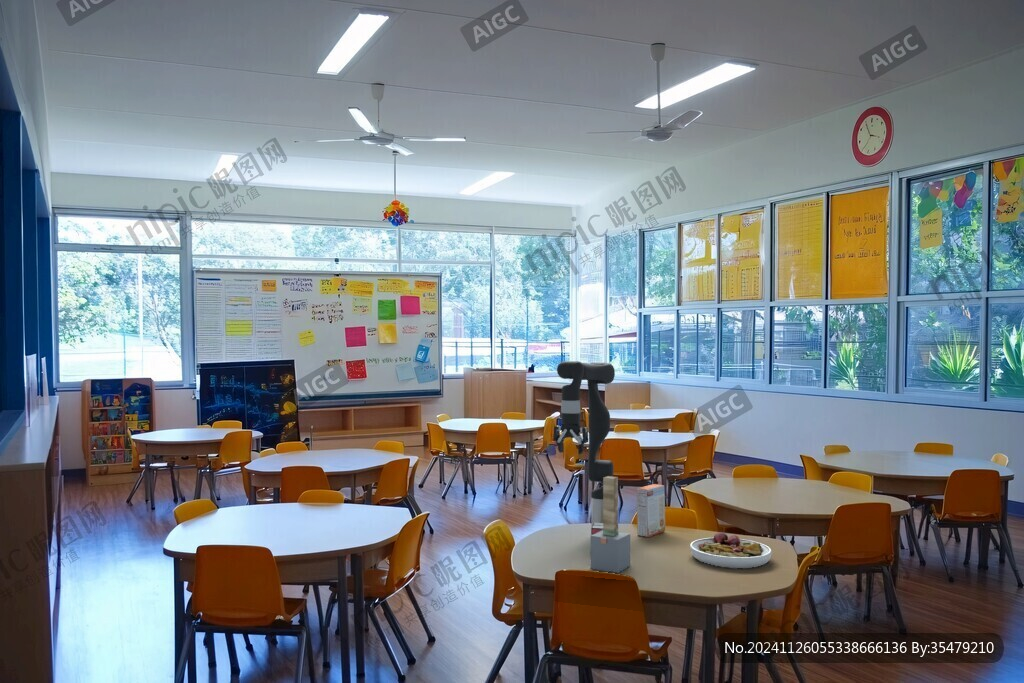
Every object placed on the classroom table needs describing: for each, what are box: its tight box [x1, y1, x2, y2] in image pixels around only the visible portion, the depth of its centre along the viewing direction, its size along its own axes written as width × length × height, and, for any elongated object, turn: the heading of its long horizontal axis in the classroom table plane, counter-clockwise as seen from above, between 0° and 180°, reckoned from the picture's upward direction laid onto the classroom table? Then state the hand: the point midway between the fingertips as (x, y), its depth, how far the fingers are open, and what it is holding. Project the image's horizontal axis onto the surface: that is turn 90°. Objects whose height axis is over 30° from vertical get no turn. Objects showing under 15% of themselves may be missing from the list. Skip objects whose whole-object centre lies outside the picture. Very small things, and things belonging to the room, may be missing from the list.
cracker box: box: [636, 483, 666, 538], centre depth 329 cm, size 14×6×21 cm, turn 136°
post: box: [602, 476, 619, 537], centre depth 278 cm, size 4×4×24 cm
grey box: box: [590, 530, 631, 574], centre depth 278 cm, size 12×11×12 cm
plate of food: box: [689, 531, 772, 569], centre depth 289 cm, size 30×30×8 cm
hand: (570, 453), depth 294 cm, fingers open, 8 cm apart
